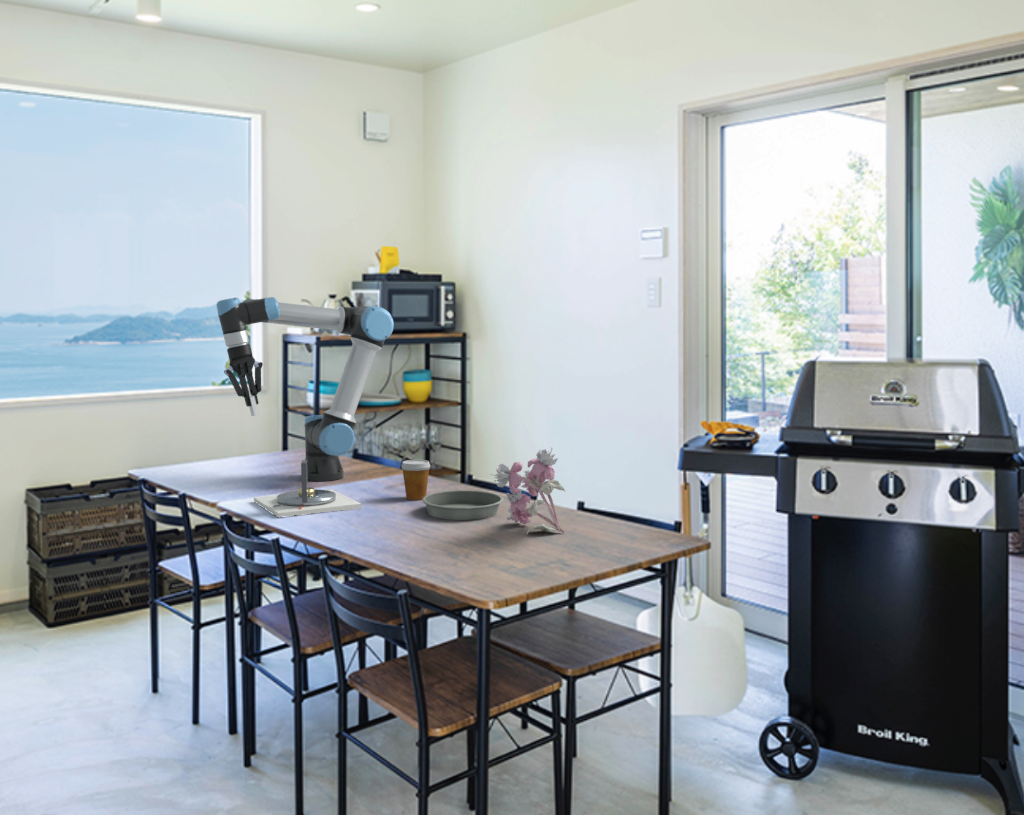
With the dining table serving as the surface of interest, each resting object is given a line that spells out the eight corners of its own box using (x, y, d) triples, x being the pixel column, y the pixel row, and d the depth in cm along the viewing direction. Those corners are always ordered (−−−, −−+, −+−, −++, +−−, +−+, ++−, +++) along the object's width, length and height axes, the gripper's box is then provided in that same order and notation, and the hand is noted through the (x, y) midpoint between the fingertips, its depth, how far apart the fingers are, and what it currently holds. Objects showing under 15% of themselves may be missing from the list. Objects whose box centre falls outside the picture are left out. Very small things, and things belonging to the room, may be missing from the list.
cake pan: (430, 524, 271) (430, 508, 270) (416, 506, 295) (415, 492, 294) (512, 519, 278) (512, 504, 277) (492, 502, 301) (491, 488, 301)
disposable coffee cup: (433, 495, 310) (432, 459, 308) (427, 501, 300) (427, 464, 299) (404, 495, 310) (404, 459, 309) (398, 501, 301) (398, 464, 300)
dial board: (331, 493, 313) (331, 488, 312) (361, 508, 290) (361, 502, 290) (253, 502, 299) (253, 496, 299) (278, 518, 277) (278, 512, 277)
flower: (581, 514, 275) (544, 438, 275) (590, 524, 253) (550, 441, 252) (520, 544, 275) (482, 468, 274) (523, 557, 252) (482, 474, 252)
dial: (279, 494, 302) (278, 453, 301) (336, 492, 305) (335, 452, 303) (274, 507, 283) (272, 463, 281) (334, 505, 286) (333, 462, 284)
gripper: (252, 342, 315) (268, 410, 318) (215, 350, 307) (232, 420, 310) (261, 340, 309) (277, 410, 312) (223, 348, 301) (241, 419, 304)
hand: (255, 415), depth 311 cm, fingers closed
